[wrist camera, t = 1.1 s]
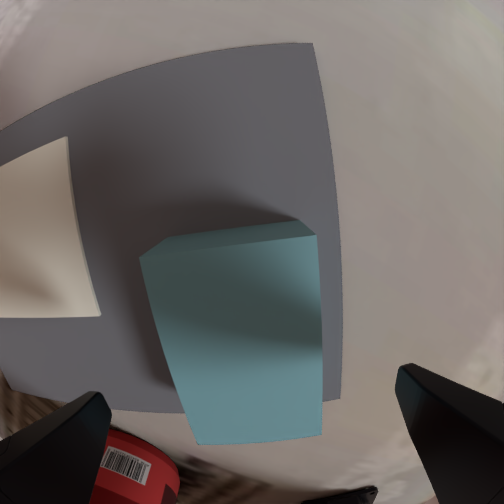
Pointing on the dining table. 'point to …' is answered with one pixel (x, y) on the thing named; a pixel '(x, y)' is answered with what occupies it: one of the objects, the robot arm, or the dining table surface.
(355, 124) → the dining table surface
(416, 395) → the robot arm
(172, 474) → the canned food
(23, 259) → the mat
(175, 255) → the block
